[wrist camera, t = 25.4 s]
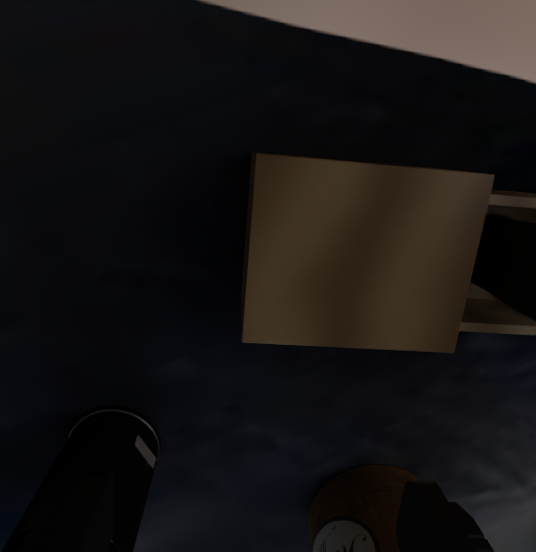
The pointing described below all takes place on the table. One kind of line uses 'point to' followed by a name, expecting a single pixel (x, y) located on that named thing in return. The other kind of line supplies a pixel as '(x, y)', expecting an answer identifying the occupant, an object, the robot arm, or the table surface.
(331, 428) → the table surface
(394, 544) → the wooden container
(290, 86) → the table surface
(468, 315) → the drawer
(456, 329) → the cabinet
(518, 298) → the battery charger
